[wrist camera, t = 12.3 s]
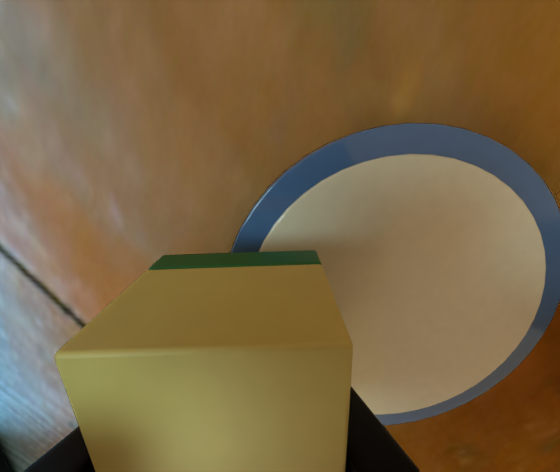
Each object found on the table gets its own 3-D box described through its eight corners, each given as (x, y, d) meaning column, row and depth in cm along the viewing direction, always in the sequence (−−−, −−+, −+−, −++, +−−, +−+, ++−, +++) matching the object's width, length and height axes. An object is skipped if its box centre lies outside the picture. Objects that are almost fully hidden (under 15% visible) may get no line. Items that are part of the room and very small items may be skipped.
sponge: (314, 424, 10) (338, 599, 6) (194, 429, 10) (141, 605, 6) (316, 249, 8) (354, 344, 4) (162, 254, 8) (48, 355, 4)
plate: (504, 404, 14) (524, 426, 13) (241, 411, 14) (238, 434, 13) (590, 117, 10) (631, 113, 8) (210, 132, 10) (201, 130, 9)
